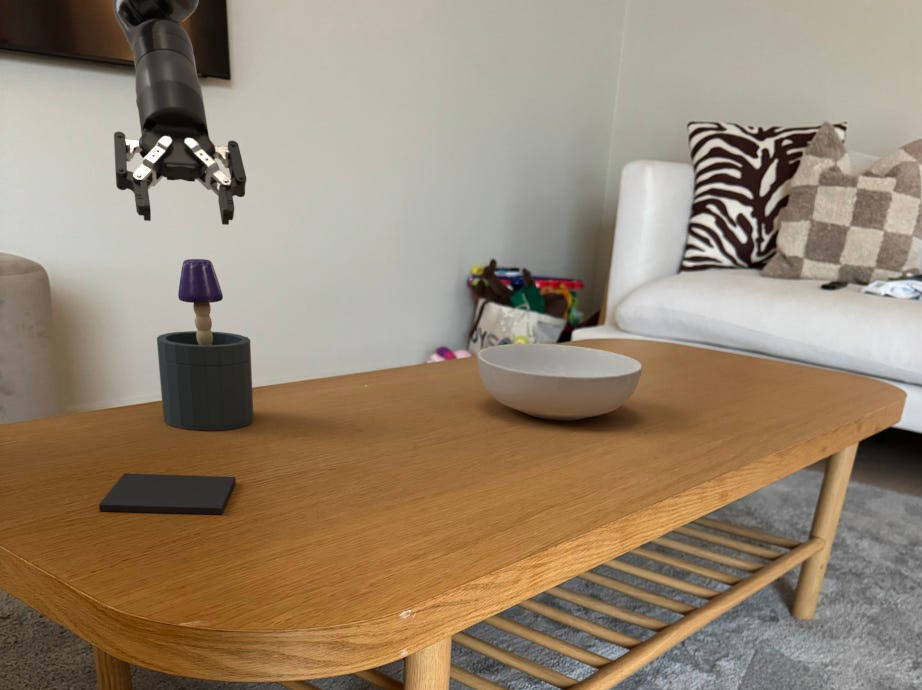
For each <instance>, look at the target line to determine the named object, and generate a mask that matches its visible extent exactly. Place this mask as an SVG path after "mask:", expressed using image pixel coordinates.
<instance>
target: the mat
mask: <svg viewBox="0 0 922 690" xmlns="http://www.w3.org/2000/svg"><path fill="white" fill-rule="evenodd" d="M236 480H237V479H236V476H218V475H217V476H216V475H215V476H214V475H187V474H186V475H185V474H155V473H154V474H153V473H126V472H125V473H123V475H122V476H121V477H120V478H119V479H118V480H117V481H116V483H115V484H114V485H113V487H112V488H111V489H110V490H109V491H108V492H107V494H106V495H105V497H104V498H102V500H101V501H100V503H99V504H98V508H99V512H118V513H119V512H120V513H153V514H154V513H156V514H157V513H159V514H190V515H192V514H193V515H223V513H224V511H225V508H226V506H227V503H228V501H229V499H230V497H231V494H232V492H233V490H234V488H235V486H236Z"/></svg>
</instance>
